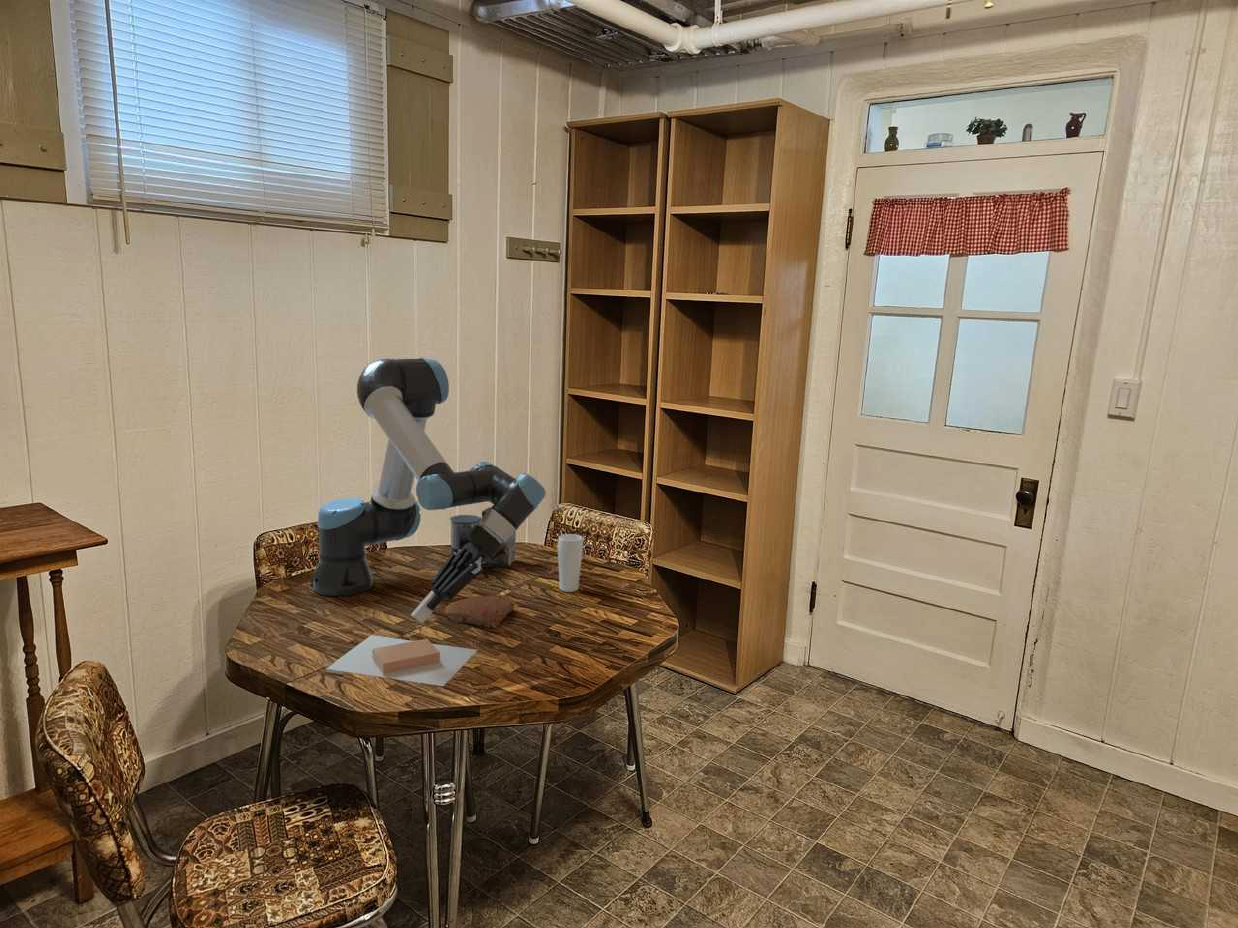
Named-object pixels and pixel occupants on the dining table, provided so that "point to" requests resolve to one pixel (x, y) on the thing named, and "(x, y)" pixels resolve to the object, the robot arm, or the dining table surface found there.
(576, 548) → the drinking glass
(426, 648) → the terracotta tile
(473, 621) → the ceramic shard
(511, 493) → the robot arm
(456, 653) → the grey mat
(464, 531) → the milk frother
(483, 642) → the dining table surface
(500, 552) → the dark cardboard box
